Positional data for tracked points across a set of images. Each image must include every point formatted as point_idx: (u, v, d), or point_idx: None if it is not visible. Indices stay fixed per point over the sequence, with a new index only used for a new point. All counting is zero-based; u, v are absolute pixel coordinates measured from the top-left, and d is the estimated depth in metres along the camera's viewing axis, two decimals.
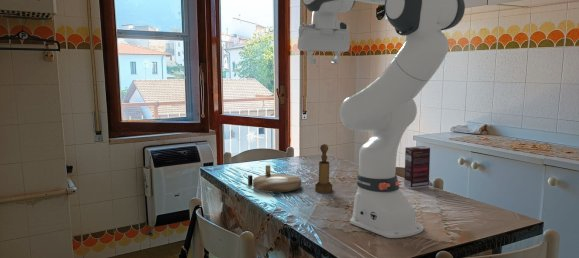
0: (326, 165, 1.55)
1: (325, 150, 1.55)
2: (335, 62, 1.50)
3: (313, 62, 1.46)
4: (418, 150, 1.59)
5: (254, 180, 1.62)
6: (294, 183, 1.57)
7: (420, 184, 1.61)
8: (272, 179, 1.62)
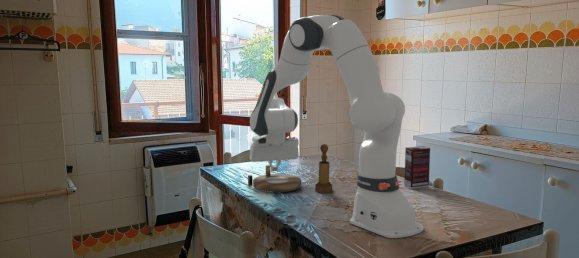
0: (326, 165, 1.55)
1: (325, 150, 1.55)
2: None
3: None
4: (418, 150, 1.59)
5: (254, 180, 1.62)
6: (294, 183, 1.57)
7: (420, 184, 1.61)
8: (272, 179, 1.62)
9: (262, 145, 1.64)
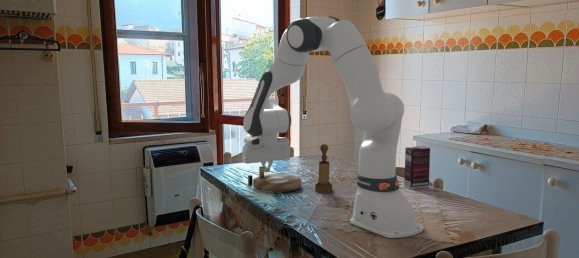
0: (326, 165, 1.55)
1: (325, 150, 1.55)
2: None
3: None
4: (418, 150, 1.59)
5: (255, 182, 1.58)
6: (297, 181, 1.60)
7: (420, 184, 1.61)
8: (272, 179, 1.62)
9: (255, 146, 1.62)
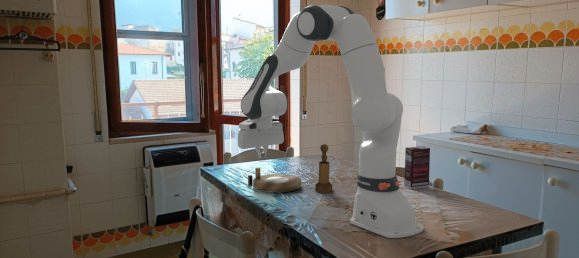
0: (326, 165, 1.55)
1: (325, 150, 1.55)
2: None
3: None
4: (418, 150, 1.59)
5: (259, 184, 1.56)
6: (298, 179, 1.63)
7: (420, 184, 1.61)
8: (273, 180, 1.61)
9: (252, 131, 1.59)
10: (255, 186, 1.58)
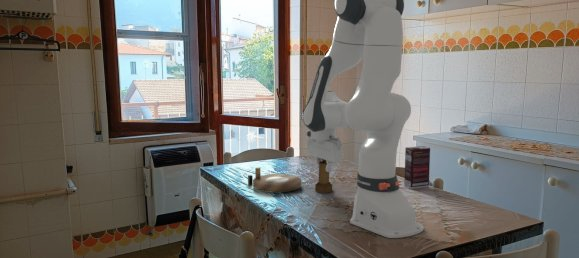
0: (326, 165, 1.55)
1: None
2: None
3: None
4: (418, 150, 1.59)
5: (259, 184, 1.56)
6: (298, 179, 1.63)
7: (420, 184, 1.61)
8: (273, 180, 1.61)
9: (310, 138, 1.59)
10: (255, 186, 1.58)
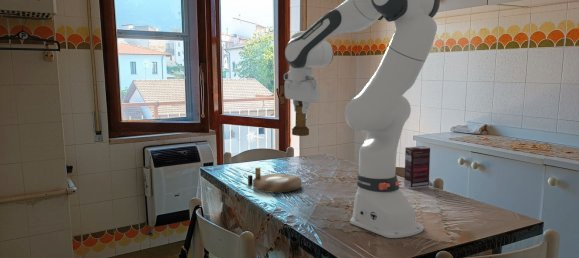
0: None
1: None
2: None
3: None
4: (418, 150, 1.59)
5: (259, 184, 1.56)
6: (298, 179, 1.63)
7: (420, 184, 1.61)
8: (273, 180, 1.61)
9: (287, 81, 1.58)
10: (255, 186, 1.58)
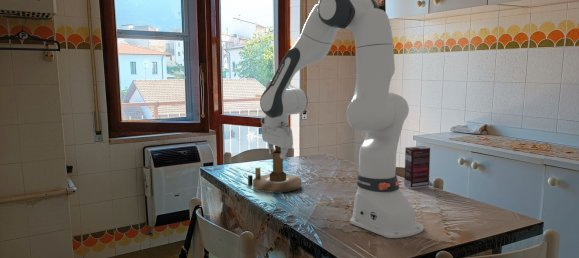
0: (279, 155, 1.59)
1: None
2: None
3: None
4: (418, 150, 1.59)
5: (259, 184, 1.56)
6: (298, 179, 1.63)
7: (420, 184, 1.61)
8: None
9: (264, 125, 1.63)
10: (255, 186, 1.58)
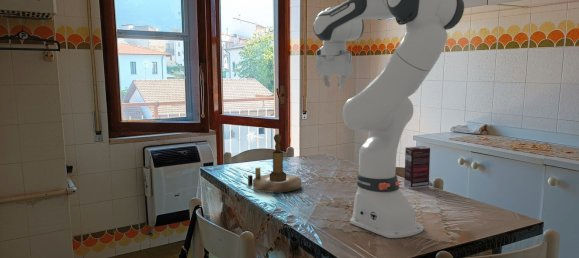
0: (279, 154, 1.59)
1: (278, 140, 1.58)
2: None
3: None
4: (418, 150, 1.59)
5: (259, 184, 1.56)
6: (298, 179, 1.63)
7: (420, 184, 1.61)
8: None
9: (320, 57, 1.60)
10: (255, 186, 1.58)
